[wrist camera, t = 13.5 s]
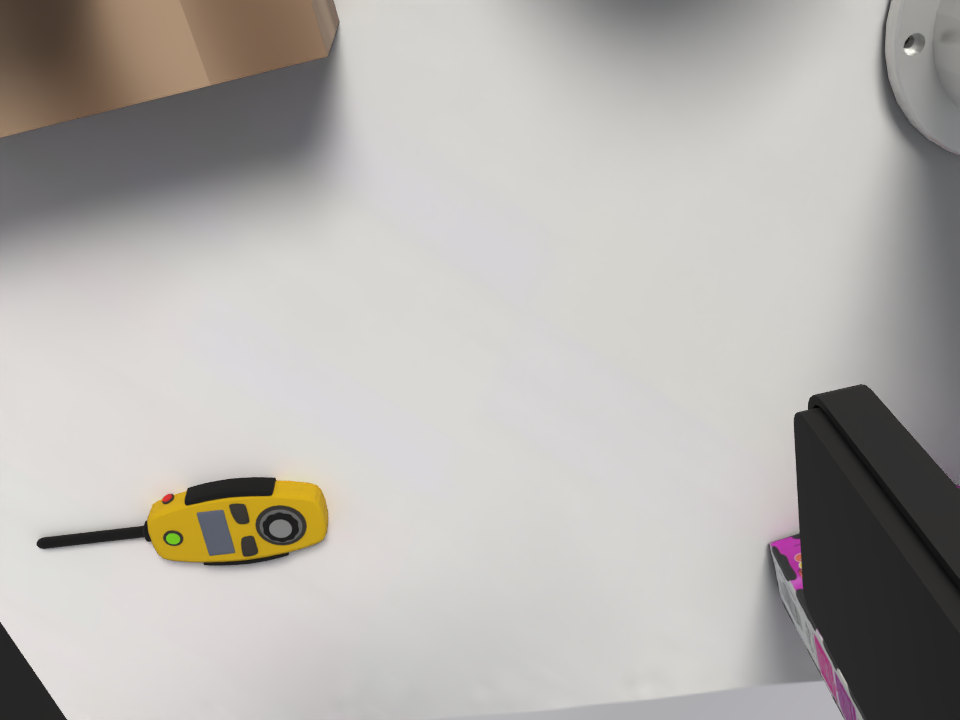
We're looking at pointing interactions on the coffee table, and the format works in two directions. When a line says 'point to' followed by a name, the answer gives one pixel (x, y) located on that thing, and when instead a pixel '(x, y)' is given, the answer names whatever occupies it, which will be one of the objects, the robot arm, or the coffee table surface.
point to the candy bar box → (810, 623)
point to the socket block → (143, 51)
